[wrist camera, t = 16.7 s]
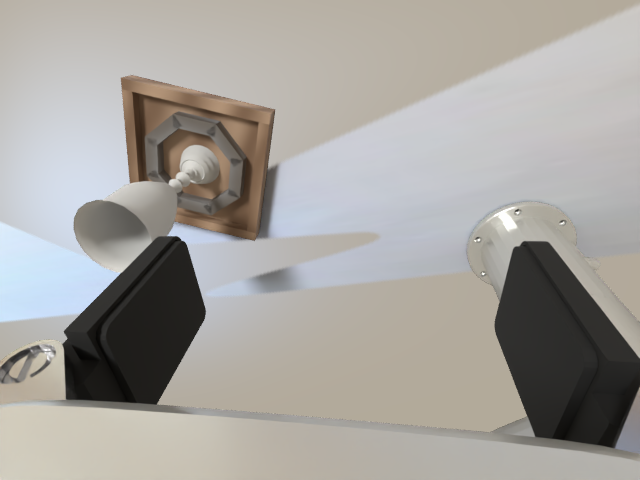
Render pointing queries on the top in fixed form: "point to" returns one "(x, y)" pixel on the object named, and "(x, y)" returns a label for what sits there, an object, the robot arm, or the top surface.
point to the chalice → (138, 212)
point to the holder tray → (206, 130)
